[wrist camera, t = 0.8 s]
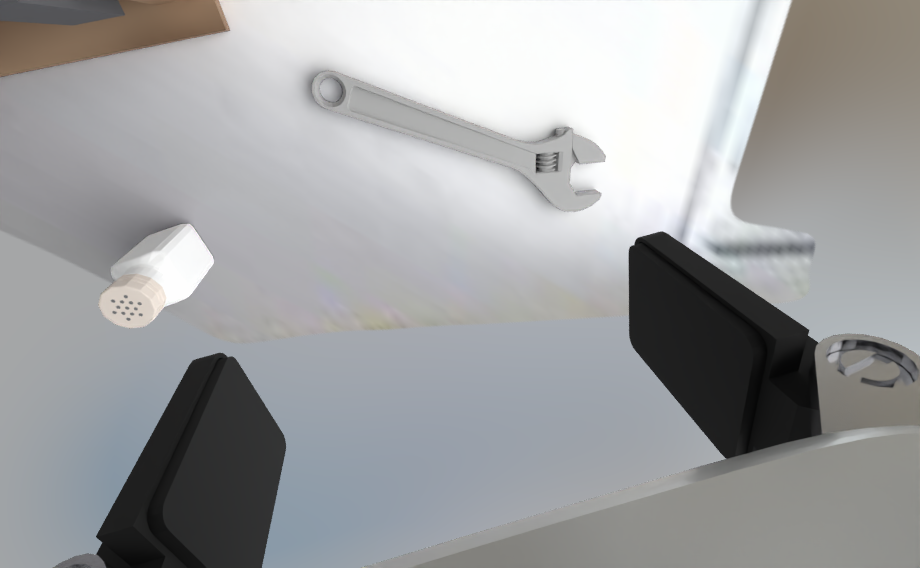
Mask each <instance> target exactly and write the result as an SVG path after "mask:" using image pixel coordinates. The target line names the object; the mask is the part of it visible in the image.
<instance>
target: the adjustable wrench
mask: <svg viewBox="0 0 920 568" xmlns="http://www.w3.org/2000/svg"><path fill="white" fill-rule="evenodd" d="M326 78H333V79H335V80H337V81H338V82H339V83H340V84H341V86H342V89H343V94H342V97H341V98H340V100H338V101H337V102H328V101H326V100H325V99H324V98H323V97H322V96H321V94H320V84H321V82H322V81H323V80H325V79H326ZM312 94H313V97H314V99H315V100H316V102H317V103H318V104H319V105H320V106H321V107H323V108H325V109H327V110H330V111H333V112H337V113H340V114H343V115H346V116H349V117H352V118H356V119H359V120H362V121H365V122H368V123H371V124H375V125H378V126H381V127H384V128H387V129H390V130H394V131H397V132H400V133H403V134H406V135H409V136H413V137H416V138H419V139H422V140H425V141H428V142H432V143H435V144H438V145H441V146H444V147H447V148H451V149H454V150H457V151H460V152H463V153H466V154H470V155H473V156H476V157H479V158H482V159H485V160H489V161H492V162H495V163H498V164H501V165H504V166H508V167H511V168H513V169H515V170H517V171H519V172H520V173H522V174H523V175H525V176H526V177H527V178H528V179H529V180H530V181H531V182H532V183H533V184H534V185H535V186H536V187H537V188H538V189H539V191H540V192H541V193H542V194H543V195H544V197H545V198H546V199H547V200H548V201H549V202H550V203H551V204H552V205H554V206H555V207H556V208H558V209H560V210H562V211H566V212H577V211H581V210H584V209H586V208H588V207H590V206H592V205H593V204H594V203H596V202H597V201H598V200H599V199H600V197H601V193H600V192H598V191H597V190H588V191H579V192H574V190H573V188H572V186H571V184H570V171H571V167H572V166H573V164H574V163H575V162H577V163H579V164H588V163H598V162H605V158H606V156H605V154H604V153H603V151H602V150H601V149H600V148H599V146H597V145H596V144H595V143H594V142H592V141H591V140H589V139H586V138H584V137H582V136H579V135H576V134H573V128H570V127H565V128H558V129H556V134H555V135H554V136H552V137H550V138H547V139H544V140H540V141H536V142H523V141H519V140H515V139H512V138H510V137H507V136H505V135H502V134H499V133H497V132H494V131H491V130H489V129H486V128H483V127H481V126H478V125H475V124H473V123H470V122H467V121H465V120H462V119H460V118H457V117H454V116H452V115H449V114H446V113H444V112H441V111H438V110H436V109H433V108H430V107H428V106H425V105H422V104H420V103H417V102H414V101H412V100H409V99H407V98H404V97H401V96H399V95H396V94H393V93H391V92H388V91H385V90H383V89H380V88H377V87H375V86H372V85H369V84H367V83H364V82H362V81H359V80H356V79H354V78H351V77H348V76H346V75H343V74H340V73H338V72H335V71H324V72H322V73H320V74H318V75H317V76H316V77H315V78H314V80H313V83H312ZM536 154H539V155H537V156H536ZM536 158H539V160H536ZM536 162H537V163H539V164H538V165H536ZM536 167H538V168H539V169H537V170H536Z"/></svg>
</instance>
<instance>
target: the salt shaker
mask: <svg viewBox="0 0 920 568" xmlns="http://www.w3.org/2000/svg"><path fill="white" fill-rule="evenodd" d="M213 264H214V259H213V256H212V255H211V253H210V252H209V250H208V249H207V247H206V245H205V244H204V242H203V241H202V239H201V238H200V236H199V235H198V233H197V232H196V230H195V229H194V227H193V226H192V225H190V224H180V225H177V226H174V227H171V228H168V229H165V230H162V231H159V232H157V233H154V234H151V235H148V236H147V237H146V238H144V239H143V240H142V241H141V242H140V243H139V244H137V245H136V246H135V247H134V248H133V249H131V250H130V251H129V252H128V253H127V254H126V255H124V256H123V257H122V258H121V259H120V260H118V261H117V262H116V263H115V264H114V265H113V266H112V267H111V276H112V278H113V279H114V282H113V283H112V284H111V285H110V286H109V287H108V288H107V289H105V291H103V292H102V293H101V295H100V299H99V304H98V306H99V308H100V310H101V312H102V314H103V316H104V317H106V318H107V319H108V320H110V321H111V322H112V323H114V324H115V325H119V326H122V327H126V328H139V327H144V326H146V325H147V324H149V323H150V322H152V321H153V320H154V319H155V318H156V316H157V315H158V314H159V313H160V311H161V310H162V309H163V308H164V307H165V306H168V305H171V304H174V303H176V302H179V301H181V300H183V299H186V298H188V297H189V296H190V295H191V294H192V292H193V291H194V290H195V288H196V287H197V286H198V284H199V283H200V281H201V280H202V279H203V277H204V276H205V275H206V273H207V272H208V270H209V269H210V268H211V266H212V265H213Z"/></svg>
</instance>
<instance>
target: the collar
mask: <svg viewBox="0 0 920 568" xmlns="http://www.w3.org/2000/svg"><path fill="white" fill-rule="evenodd" d="M124 15H125V13H124V11H123V9H122V7H121V5H120V3H119V1H118V0H0V21H12V22H27V23H42V24H57V25H72V26H73V25H78V24H83V23H89V22H94V21H99V20H104V19H109V18H114V17H119V16H124Z"/></svg>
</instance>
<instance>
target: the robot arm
mask: <svg viewBox="0 0 920 568" xmlns="http://www.w3.org/2000/svg"><path fill="white" fill-rule="evenodd" d="M808 333H809V330H808V329H807V328H805V327H804V326H802V325H801V324H800V323H798V322H796V321H795V320H793V319H792V318H791V317H789V316H788V315H786V314H785V313H783V312H782V311H780V310H779V309H777V308H776V307H774V306H773V305H772V304H770V303H769V302H767V301H766V300H764V299H763V298H761V297H760V296H758V295H757V294H755V293H754V292H752V291H751V290H749V289H748V288H746V287H745V286H744V285H742V284H741V283H739V282H738V281H736V280H735V279H733V278H732V277H730V276H729V275H727V274H726V273H724V272H723V271H721V270H720V269H718V268H717V267H716V266H714V265H713V264H711V263H710V262H708V261H707V260H705V259H704V258H702V257H701V256H699V255H698V254H696V253H695V252H693V251H692V250H690V249H689V248H688V247H686V246H685V245H683V244H682V243H680V242H679V241H677V240H676V239H674V238H673V237H671V236H670V235H668V234H667V233H665V232H657V233H654V234H650V235H646V236H643V237H639V238H637V239H636V241H635V245H633V246H631V247H630V249H629V336H630V341H631V344H632V346H633V348H634V349H635V351H636V352H637V353H638V354H639V355H640V357H641V358H642V359H643V360H644V361H645V363H646V364H647V365H648V366H649V367H650V369H651V370H652V371H653V372H654V373H655V375H656V376H657V377H658V378H659V379H660V381H661V382H662V383H663V384H664V385H665V387H666V388H667V389H668V390H669V391H670V393H671V394H672V395H673V396H674V397H675V399H676V400H677V401H678V402H679V403H680V404H681V406H682V407H683V408H684V409H685V411H686V412H687V413H688V414H689V415H690V417H691V418H692V419H693V420H694V421H695V423H696V424H697V425H698V426H699V427H700V429H701V430H702V431H703V432H704V433H705V435H706V436H707V437H708V438H709V439H710V441H711V442H712V443H713V444H714V446H715V447H716V448H717V449H718V450H719V452H720V453H721V454H722V455H723V456H724V457H725V458H726V459H725V460H721V461H718V462H714V463H711V464H707V465H703V466H700V467H697V468H693V469H689V470H686V471H683V472H679V473H676V474H673V475H669V476H666V477H663V478H659V479H656V480H652V481H649V482H645V483H642V484H639V485H635V486H632V487H628V488H625V489H622V490H618V491H615V492H611V493H608V494H605V495H602V496H598V497H595V498H591V499H588V500H584V501H581V502H578V503H574V504H571V505H568V506H564V507H561V508H558V509H554V510H551V511H548V512H544V513H541V514H538V515H534V516H531V517H527V518H524V519H521V520H517V521H514V522H511V523H507V524H504V525H501V526H498V527H494V528H491V529H487V530H484V531H481V532H478V533H474V534H471V535H468V536H464V537H461V538H458V539H454V540H451V541H448V542H444V543H441V544H438V545H435V546H431V547H428V548H424V549H421V550H418V551H415V552H411V553H408V554H405V555H401V556H399V557H395V558H392V559H388V560H385V561H382V562H379V563H376V564H372V565H369V566H365V567H362V568H920V356H918V355H917V354H916V353H915V352H913V351H911V350H909V349H908V348H906V347H904V346H902V345H900V344H898V343H895V342H891V341H889V340H886V339H883V338H879V337H874V336H869V335H864V334H841V335H833V336H830V337H828V338H825V339H823V340H822V341H821V342H820V343H818V342H817V341H815V340H814V339H812V338H811V337H809V336H808ZM285 451H286V443H285V438H284V435H283V433H282V431H281V430H280V428H279V427H278V425H277V423H276V422H275V420H274V419H273V417H272V416H271V414H270V412H269V411H268V409H267V408H266V406H265V404H264V403H263V401H262V400H261V398H260V396H259V395H258V393H257V392H256V390H255V389H254V387H253V385H252V384H251V382H250V381H249V379H248V377H247V376H246V374H245V373H244V371H243V369H242V368H241V367H240V365H239V363H238V362H237V360H236V359H235V358H234V357H227V356H226V355H225V354H223V353H217V354H213V355H210V356H206V357H203V358H199V359H196V360H193V361H192V363H191V364H190V365H189V367H188V369H187V371H186V373H185V374H184V376H183V378H182V380H181V382H180V384H179V385H178V387H177V389H176V391H175V393H174V395H173V396H172V398H171V400H170V402H169V404H168V406H167V407H166V409H165V411H164V413H163V415H162V417H161V418H160V420H159V422H158V424H157V426H156V428H155V430H154V431H153V433H152V435H151V437H150V439H149V440H148V442H147V444H146V446H145V448H144V450H143V452H142V453H141V455H140V457H139V459H138V461H137V462H136V465H135V466H134V468H133V470H132V472H131V474H130V475H129V477H128V479H127V481H126V483H125V484H124V486H123V488H122V490H121V492H120V494H119V496H118V497H117V499H116V501H115V503H114V504H113V506H112V508H111V510H110V512H109V514H108V516H107V517H106V519H105V521H104V523H103V525H102V527H101V528H100V530H99V532H98V534H97V536H96V537H97V538H98V539H99V540H100V541H101V542H102V544H101V546H100V548H99V550H98V552H97V554H96V555H94V554H83V555H79V556H74V557H72V558H70V559H68V560H66V561H64V562H61V563H59V564H58V565H56V566H55V567H53V568H262V564H263V559H264V554H265V548H266V544H267V539H268V534H269V529H270V524H271V519H272V515H273V510H274V505H275V500H276V495H277V490H278V485H279V480H280V475H281V470H282V466H283V461H284V456H285Z"/></svg>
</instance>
